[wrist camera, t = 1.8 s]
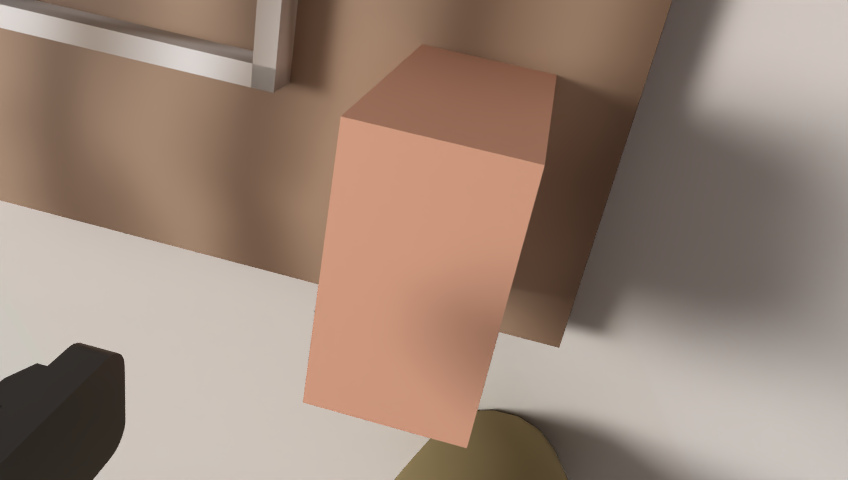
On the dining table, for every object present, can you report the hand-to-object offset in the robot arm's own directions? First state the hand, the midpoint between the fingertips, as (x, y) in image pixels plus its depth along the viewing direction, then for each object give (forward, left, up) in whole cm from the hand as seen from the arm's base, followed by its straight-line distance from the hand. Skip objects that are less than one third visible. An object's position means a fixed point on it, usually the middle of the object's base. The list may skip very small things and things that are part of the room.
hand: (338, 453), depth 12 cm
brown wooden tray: (+7, -2, -17) cm, 18 cm away
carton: (0, 0, -15) cm, 15 cm away
